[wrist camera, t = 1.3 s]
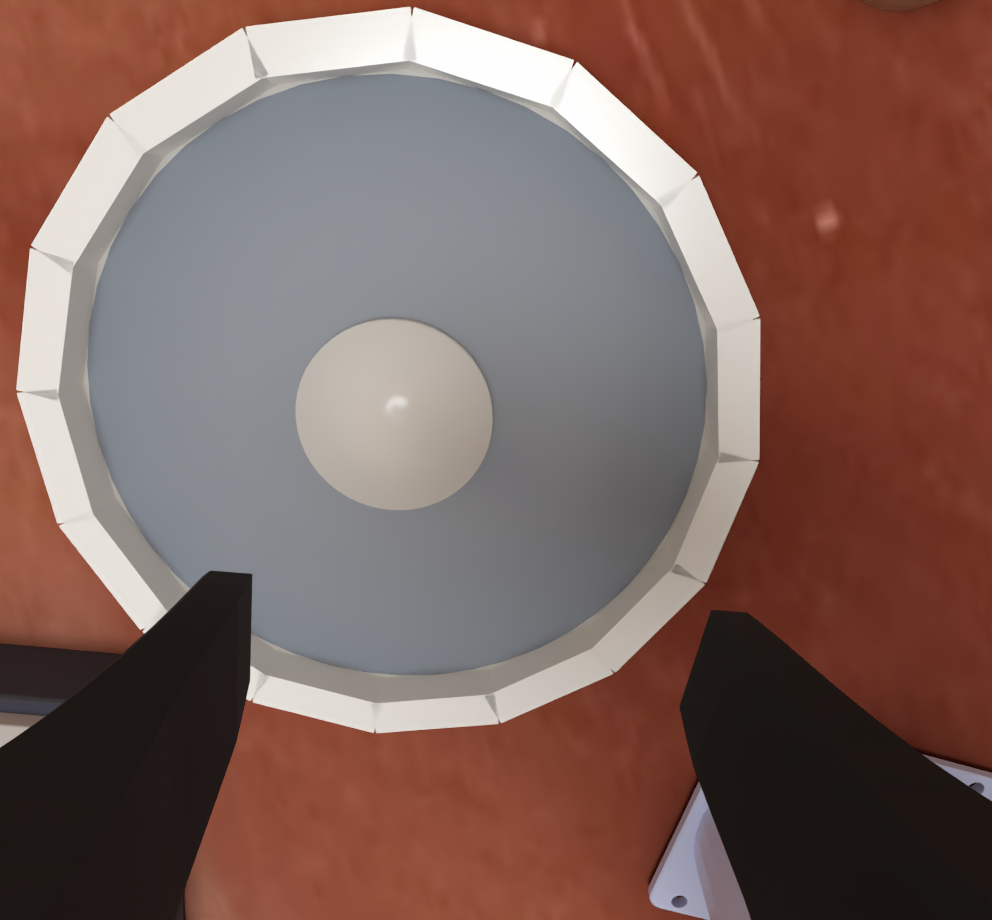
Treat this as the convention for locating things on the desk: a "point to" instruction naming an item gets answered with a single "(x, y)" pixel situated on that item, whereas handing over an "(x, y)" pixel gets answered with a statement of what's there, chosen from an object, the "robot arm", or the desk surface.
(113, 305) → the ring tray
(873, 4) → the wooden bead
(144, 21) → the desk surface
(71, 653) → the calculator
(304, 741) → the desk surface
